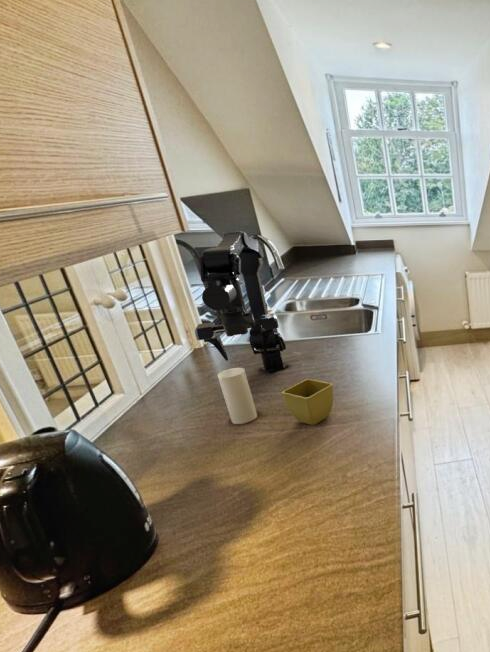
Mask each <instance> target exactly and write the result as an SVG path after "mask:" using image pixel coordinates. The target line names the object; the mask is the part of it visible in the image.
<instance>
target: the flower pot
mask: <svg viewBox="0 0 490 652" xmlns="http://www.w3.org/2000/svg"><path fill="white" fill-rule="evenodd" d="M281 396H282V398H283V400H284V403H285V405H286V407H287V410H288V412H289V413H290V415H292V417H294V419H295V420H297V421H298V422H300V423H302V424H303V423H304V424H306V425H310V426H315V425H317V424H319V423H320V422H322V421H323V420H324V419H326V418H328V417H329V415H330V414H331V412H332V409H333V406H334V384H333V383H330V382H326V381H322V380H317V379H313V378H312V379H311V378H306V379H304V380H302V381H300V382H298V383H296V384H294V385H292V386H291V387H288V388H287V389H284V390H283V391H281Z"/></svg>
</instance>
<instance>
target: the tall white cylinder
mask: <svg viewBox="0 0 490 652" xmlns="http://www.w3.org/2000/svg"><path fill="white" fill-rule="evenodd" d="M217 378H218V379H217V380H218V382H219V385H220V389H221V391H222V395H223V398H224V402H225V405H226V408H227V411H228V415H229V418H230V422H231V423H232V424H234V425H243V424H247V423H251V422H252V421H253V420H255V419H257V418H258V412H257V409H256V406H255V405H256V404H255V403H254V397H253V394H252V391H251V388H250V383H249V381H248V377H247V373H246V370H245V368H243V367H231V368H227V369H224V370H222V371H219V372H218V373H217Z"/></svg>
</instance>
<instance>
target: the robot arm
mask: <svg viewBox="0 0 490 652" xmlns="http://www.w3.org/2000/svg"><path fill="white" fill-rule="evenodd" d="M264 257H265V255H264V250H263V246H261V244H260V242H259V241H258V240H257V239H255V238H253V237H251V236H248V234H247V233H246V232H245V231H242V230H241V231H227V232H226V233H224V237H223V239H221V241H220V242H219V243H218V245H217V246H215V247H210V248H206V249H204V250H203V251H202V253H201V255H200V261H199V262H200V281H201V282H202V283H203V282H206V284H207V287H206V288H205V289H204V290H203V292H202V295H201V299H202V302H203V304H204V305H205V306H206V307H207V308H209V309H210V310H214V311H220V313H221V318H220V319H221V322H222V324H217V325H216V324H215V322H214V321H210V322H204V323H197V325H196V327H195V330H194V335H195V338H196V340H197V341H203V342H204V343H209V344H211V345H212V346H213V347H215V349H216V350H217V351H218V352H219V354H220V355H221V356H222V357H223V360H225V361H229V358H228V353H227V350H226V348H225V346H224V343H223V341H222V338H221V336H220V333H225V335H226V336H227V337H229V338H231V337H234V336H239V335H241V336H244V335H247V334H248V333H249V338H248V339H249V344H250V347H251V350H252V352H253V354H254V355H259V354H260V356H261V362H262V364H263V365H262V366H261V367H259V370H261V371H263V372H266V373H268V374H273V373H276V372H278V371H280V370H284V369H286V368H288V367H289V364H286V363H284V361H283V357H282V354H281V352H284V351H285V350H286V349H287V346H286V342H285V340H284V338H283V336H282V335H281V333H280V332H278V331H279V330H278V329H279V321H278V317H277V314H276V313H269V312H268V307H267V302H266V297H265V293H264V287H263V283H262V278H261V273H260V272H261V270H262V267H263V265H264V260H263V259H264ZM241 274H242V277H243V282H244V286H245V291H246V295H247V300H248V304H249V309H250V312H248V309H247V305H246V302H245V298H244V294H243V290H242V286H241V283H240V280H239V278H240V275H241Z"/></svg>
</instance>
